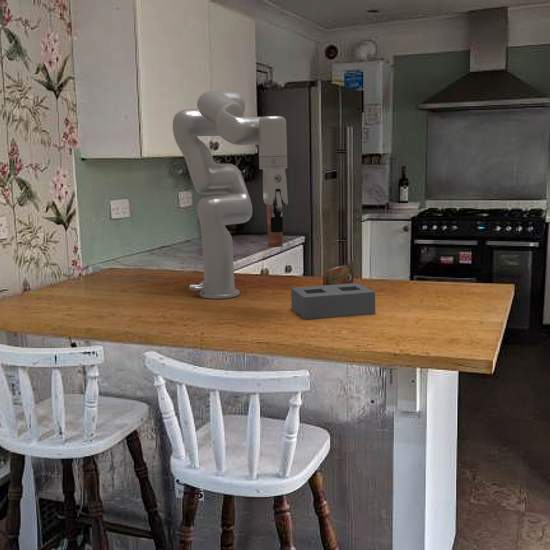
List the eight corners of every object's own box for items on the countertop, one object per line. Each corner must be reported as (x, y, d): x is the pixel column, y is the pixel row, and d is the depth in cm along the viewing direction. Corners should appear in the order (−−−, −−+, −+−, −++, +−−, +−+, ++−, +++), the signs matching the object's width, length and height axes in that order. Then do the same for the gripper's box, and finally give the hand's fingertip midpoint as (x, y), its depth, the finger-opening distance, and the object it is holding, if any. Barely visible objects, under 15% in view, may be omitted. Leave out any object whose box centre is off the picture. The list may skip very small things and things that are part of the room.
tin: (329, 298, 211) (329, 270, 209) (321, 297, 212) (320, 270, 211) (354, 289, 222) (354, 263, 221) (345, 288, 224) (345, 263, 223)
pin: (269, 247, 188) (268, 203, 186) (266, 245, 191) (265, 202, 189) (284, 246, 188) (283, 202, 186) (280, 244, 192) (279, 201, 190)
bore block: (304, 319, 185) (303, 297, 184) (291, 308, 198) (291, 287, 197) (375, 313, 189) (375, 292, 188) (358, 303, 202) (357, 282, 201)
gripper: (294, 163, 179) (295, 233, 182) (279, 162, 195) (281, 227, 198) (265, 164, 177) (267, 235, 180) (253, 163, 193) (255, 228, 197)
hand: (275, 230), depth 189 cm, fingers closed on pin, 4 cm apart
